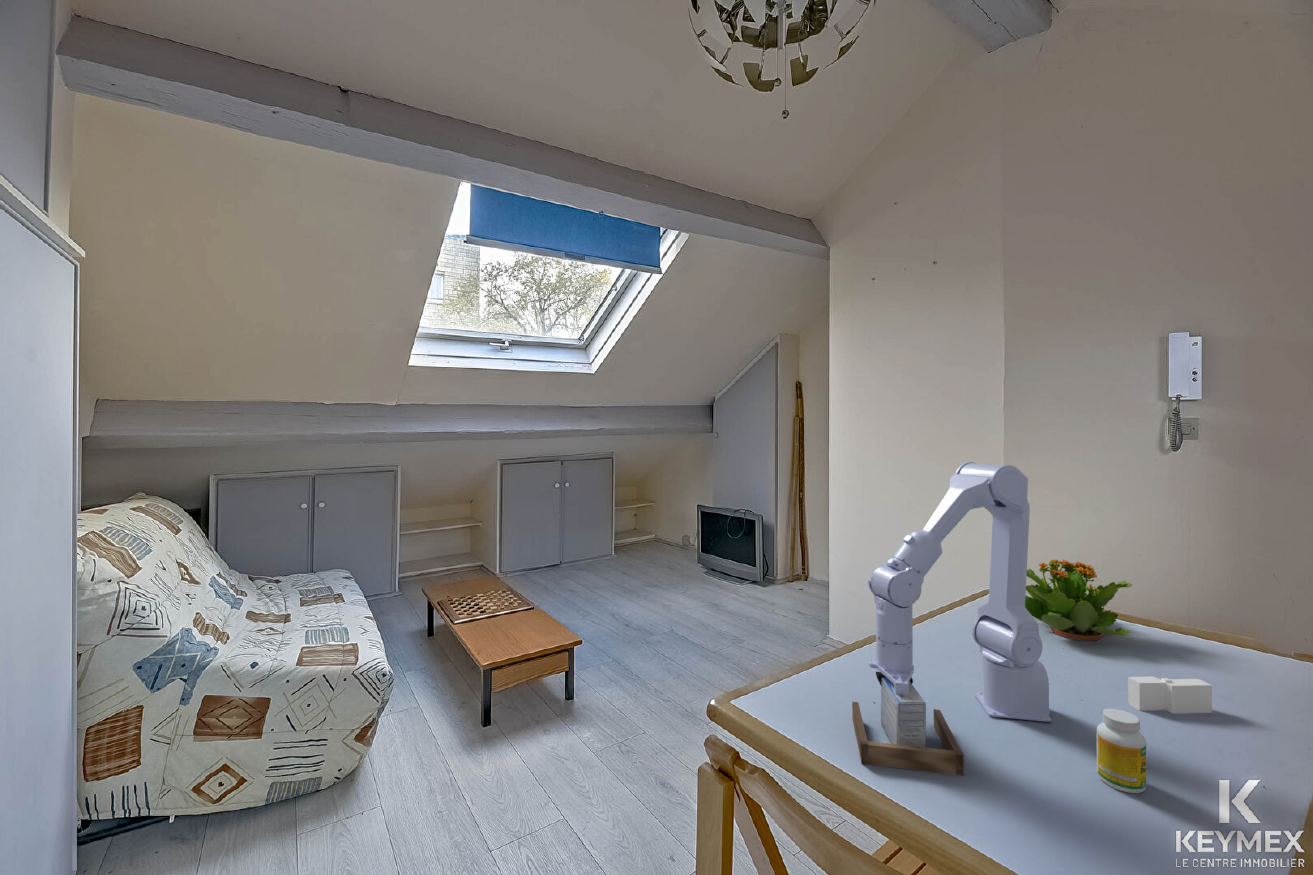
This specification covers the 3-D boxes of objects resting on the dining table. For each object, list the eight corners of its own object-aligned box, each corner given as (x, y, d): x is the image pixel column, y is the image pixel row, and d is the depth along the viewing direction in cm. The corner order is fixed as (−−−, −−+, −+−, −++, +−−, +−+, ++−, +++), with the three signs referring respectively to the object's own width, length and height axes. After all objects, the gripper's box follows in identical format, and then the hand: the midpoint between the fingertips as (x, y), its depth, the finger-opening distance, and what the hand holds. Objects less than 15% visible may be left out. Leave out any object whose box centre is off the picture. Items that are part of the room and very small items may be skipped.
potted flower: (1174, 656, 118) (1174, 575, 117) (1063, 658, 118) (1062, 577, 117) (1085, 615, 143) (1085, 548, 142) (993, 617, 143) (992, 550, 142)
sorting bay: (940, 727, 92) (940, 709, 92) (963, 775, 80) (963, 755, 80) (852, 718, 96) (852, 701, 96) (861, 763, 83) (861, 743, 83)
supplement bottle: (1094, 765, 81) (1094, 702, 81) (1142, 777, 79) (1142, 711, 78) (1099, 786, 77) (1099, 718, 77) (1150, 799, 74) (1150, 729, 74)
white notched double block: (1218, 708, 97) (1218, 676, 97) (1230, 738, 88) (1230, 703, 88) (1109, 685, 107) (1109, 655, 107) (1110, 709, 98) (1110, 677, 98)
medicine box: (926, 756, 85) (927, 702, 84) (896, 755, 85) (897, 701, 84) (907, 726, 92) (908, 676, 92) (879, 725, 93) (880, 675, 92)
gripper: (863, 621, 101) (864, 693, 102) (874, 653, 87) (875, 737, 88) (905, 624, 100) (905, 698, 100) (923, 657, 86) (923, 743, 86)
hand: (894, 716), depth 94 cm, fingers closed, pressing on medicine box
